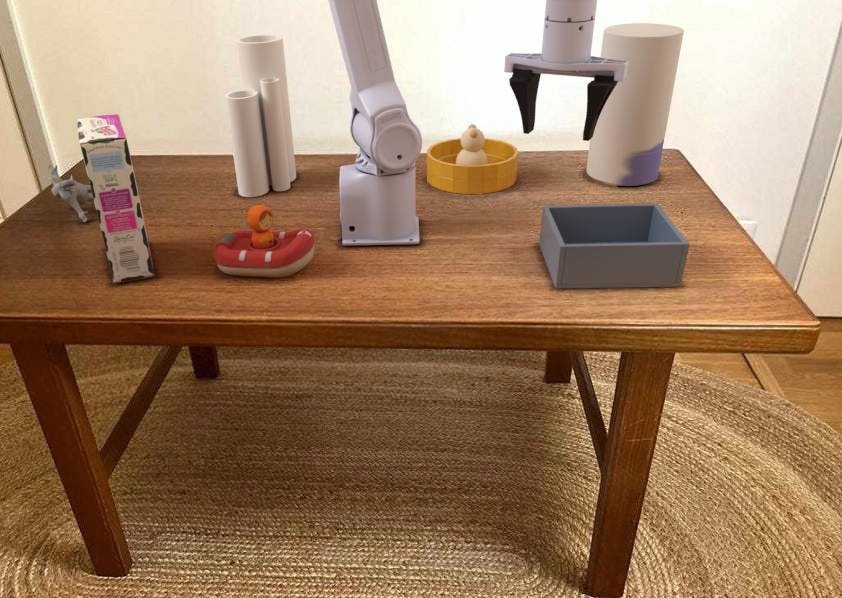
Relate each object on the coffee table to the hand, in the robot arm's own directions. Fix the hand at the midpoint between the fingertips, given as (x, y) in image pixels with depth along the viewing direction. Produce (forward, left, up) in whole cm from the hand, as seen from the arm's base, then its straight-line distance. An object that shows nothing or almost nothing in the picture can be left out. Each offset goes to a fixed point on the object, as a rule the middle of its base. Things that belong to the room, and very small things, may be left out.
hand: (557, 135), depth 92 cm
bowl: (-10, +11, -10) cm, 18 cm away
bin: (+3, -17, -10) cm, 20 cm away
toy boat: (-36, -16, -10) cm, 40 cm away
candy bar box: (-53, -14, -10) cm, 55 cm away
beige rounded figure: (-10, +11, -9) cm, 17 cm away
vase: (-40, +12, -10) cm, 43 cm away
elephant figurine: (-66, +3, -10) cm, 66 cm away
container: (+12, +12, -10) cm, 20 cm away
